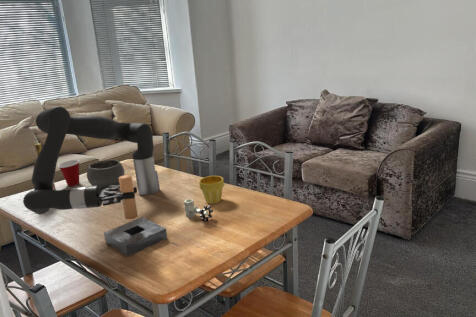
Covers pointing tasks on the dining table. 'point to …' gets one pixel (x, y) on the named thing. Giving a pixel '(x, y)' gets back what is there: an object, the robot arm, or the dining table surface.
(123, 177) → the peg
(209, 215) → the valve
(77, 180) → the plastic cup
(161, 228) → the socket block
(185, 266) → the dining table surface
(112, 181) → the bowl
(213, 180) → the plant pot
